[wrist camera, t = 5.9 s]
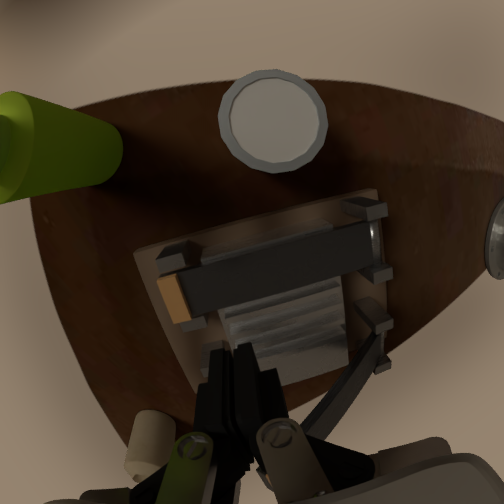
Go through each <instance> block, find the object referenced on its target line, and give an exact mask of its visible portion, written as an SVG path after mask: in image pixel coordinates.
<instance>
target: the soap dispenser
mask: <svg viewBox="0 0 504 504" xmlns="http://www.w3.org/2000/svg"><path fill="white" fill-rule="evenodd" d="M122 156H123V142H122V138H121V135H120V133H119V132H118V130H117V129H116V128H115V127H114V126H113V125H111V124H110V123H107V122H105V121H102V120H99V119H97V118H94V117H91V116H89V115H86V114H83V113H80V112H77V111H75V110H72V109H69V108H66V107H63V106H60V105H57V104H54V103H51V102H48V101H45V100H42V99H38V98H35V97H32V96H29V95H25V94H22V93H19V92H15V91H11V92H5V93H3V94H1V95H0V204H4V203H7V202H12V201H15V200H20V199H24V198H29V197H33V196H38V195H42V194H47V193H52V192H57V191H63V190H68V189H74V188H79V187H85V186H91V185H97V184H101V183H103V182H105V181H107V180H108V179H109V178H110V177H112V175H113V174H114V173H115V172H116V170H117V169H118V167H119V165H120V163H121V160H122Z"/></svg>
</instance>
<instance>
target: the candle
mask: <svg viewBox="0 0 504 504" xmlns="http://www.w3.org/2000/svg"><path fill="white" fill-rule="evenodd" d="M175 433H176V424H175V421H174V420H173V419H172V418H171V417H170V416H169V415H167V414H165V413H163V412H160V411H156V410H143V411H140V412H139V413H138V414H137V416H136V418H135V422H134V426H133V429H132V433H131V437H130V441H129V446H128V450H127V454H126V458H125V463H124V468H125V470H126V471H127V472H128V474H129V475H130V476H131V478H132V479H133V480H134V481H135V482H137V483H140V482H142V481H143V480H145V479H146V478H147V477H149V476H150V475H152V474H153V473H154V472H156V471H157V470H159V469H160V468H161V467H163V466H164V465H165V464H167V463H168V462H169V459H170V456H171V453H172V450H173V447H174V442H175Z"/></svg>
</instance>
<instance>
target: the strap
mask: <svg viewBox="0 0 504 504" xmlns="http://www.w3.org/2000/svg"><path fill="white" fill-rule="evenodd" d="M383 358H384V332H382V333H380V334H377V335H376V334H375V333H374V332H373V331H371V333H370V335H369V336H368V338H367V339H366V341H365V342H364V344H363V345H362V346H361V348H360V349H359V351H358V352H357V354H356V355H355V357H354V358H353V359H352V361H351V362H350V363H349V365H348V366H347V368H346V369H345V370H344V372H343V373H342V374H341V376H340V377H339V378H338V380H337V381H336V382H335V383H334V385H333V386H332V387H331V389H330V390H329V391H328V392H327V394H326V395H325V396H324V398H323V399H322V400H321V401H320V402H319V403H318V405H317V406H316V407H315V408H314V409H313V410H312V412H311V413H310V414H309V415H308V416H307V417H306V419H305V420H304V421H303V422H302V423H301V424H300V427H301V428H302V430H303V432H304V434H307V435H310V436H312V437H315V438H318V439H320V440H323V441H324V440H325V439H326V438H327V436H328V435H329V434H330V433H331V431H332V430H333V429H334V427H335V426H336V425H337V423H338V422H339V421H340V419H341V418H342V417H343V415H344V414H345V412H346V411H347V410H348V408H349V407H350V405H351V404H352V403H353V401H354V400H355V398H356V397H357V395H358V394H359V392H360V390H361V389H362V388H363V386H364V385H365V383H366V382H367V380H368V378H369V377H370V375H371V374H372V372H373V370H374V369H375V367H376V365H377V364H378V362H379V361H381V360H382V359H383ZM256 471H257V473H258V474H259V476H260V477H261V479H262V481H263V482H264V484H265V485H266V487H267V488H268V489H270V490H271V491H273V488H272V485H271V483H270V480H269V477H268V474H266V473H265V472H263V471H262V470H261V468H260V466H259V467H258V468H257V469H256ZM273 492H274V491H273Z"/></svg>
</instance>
